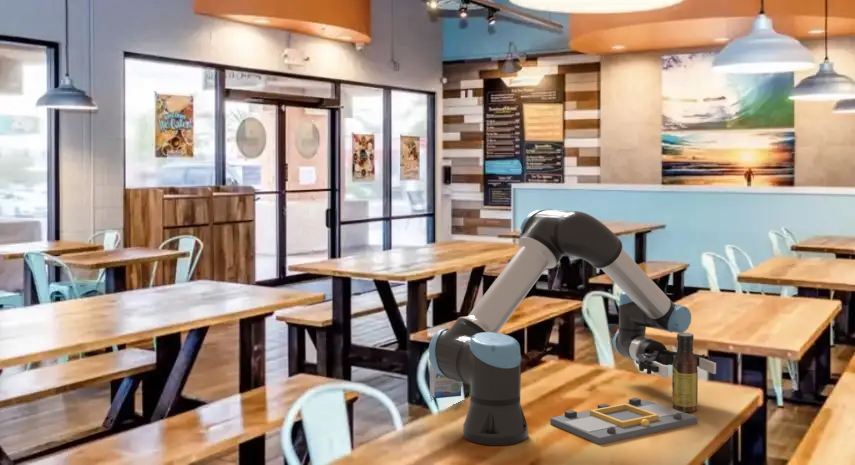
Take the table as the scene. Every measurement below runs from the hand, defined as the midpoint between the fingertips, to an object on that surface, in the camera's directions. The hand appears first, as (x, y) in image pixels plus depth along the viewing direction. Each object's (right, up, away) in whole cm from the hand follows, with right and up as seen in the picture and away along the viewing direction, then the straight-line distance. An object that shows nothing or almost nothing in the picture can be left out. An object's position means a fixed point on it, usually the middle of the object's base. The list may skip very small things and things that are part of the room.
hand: (691, 370), depth 223 cm
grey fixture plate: (-19, -12, -7) cm, 23 cm away
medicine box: (-62, -10, +19) cm, 65 cm away
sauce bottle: (-1, -11, +3) cm, 11 cm away
